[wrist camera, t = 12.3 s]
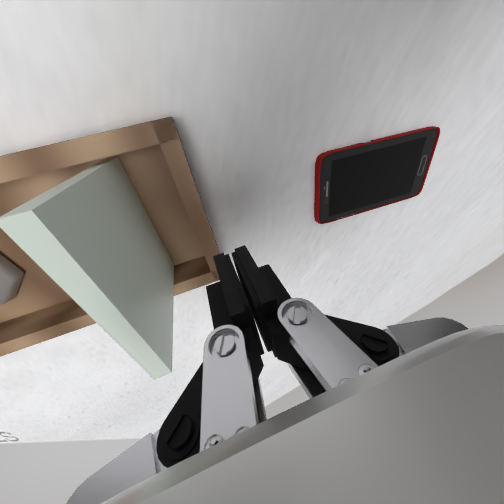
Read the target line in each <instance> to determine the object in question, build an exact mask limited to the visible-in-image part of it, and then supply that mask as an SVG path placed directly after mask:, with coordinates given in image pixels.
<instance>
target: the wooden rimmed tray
mask: <svg viewBox="0 0 504 504" xmlns="http://www.w3.org/2000/svg"><path fill="white" fill-rule="evenodd" d="M113 157H118V159H119V160H120V162H121V164H122V166H123V168H124V170H125V172H126V174H127V176H128V178H129V180H130V181H131V183H132V185H133V187H134V189H135V191H136V193H137V195H138V197H139V199H140V201H141V202H142V204H143V206H144V208H145V210H146V212H147V214H148V216H149V218H150V220H151V221H152V223H153V225H154V227H155V229H156V231H157V233H158V235H159V237H160V239H161V241H162V242H163V244H164V246H165V248H166V250H167V252H168V254H169V256H170V258H171V260H172V262H173V263H174V295H173V296H175V295H178V294H181V293H184V292H187V291H189V290H192V289H195V288H198V287H201V286H204V285H207V284H209V283H212V282H215V281H218V280H220V279H219V276H218V272H217V269H216V265H215V262H214V259H213V256H215V255H218V254H220V253H219V250H218V247H217V245H216V242H215V239H214V236H213V233H212V230H211V227H210V224H209V222H208V219H207V216H206V213H205V210H204V207H203V204H202V201H201V198H200V196H199V193H198V190H197V187H196V184H195V181H194V178H193V175H192V173H191V170H190V167H189V164H188V161H187V158H186V155H185V152H184V149H183V147H182V144H181V141H180V138H179V135H178V132H177V129H176V126H175V124H174V121H173V118H172V117H167V118H163V119H159V120H154V121H150V122H146V123H141V124H137V125H133V126H129V127H124V128H120V129H116V130H111V131H107V132H103V133H98V134H94V135H90V136H85V137H81V138H77V139H72V140H68V141H64V142H59V143H55V144H51V145H46V146H42V147H38V148H34V149H29V150H25V151H21V152H16V153H12V154H8V155H3V156H0V216H2V215H4V214H6V213H8V212H10V211H11V210H13V209H15V208H17V207H19V206H20V205H22V204H24V203H26V202H28V201H30V200H31V199H33V198H35V197H37V196H39V195H40V194H42V193H44V192H46V191H48V190H49V189H51V188H53V187H55V186H57V185H59V184H60V183H62V182H64V181H66V180H68V179H69V178H71V177H73V176H75V175H77V174H79V173H80V172H82V171H84V170H86V169H88V168H89V167H91V166H93V165H95V164H97V163H98V162H100V161H102V160H105V159H109V158H113ZM0 254H1V255H2V256H3V257H5V258H6V259H7V260H9V261H10V262H11V263H12V264H14V265H15V266H16V267H17V268H19V269H20V270H21V271H23V272H24V275H23V277H22V280H21V283H20V286H19V289H18V292H17V294H16V297H15V298H14V299H12V300H10V301H8V302H6V303H4V304H2V305H0V356H3V355H6V354H9V353H12V352H15V351H18V350H20V349H23V348H26V347H29V346H32V345H35V344H38V343H40V342H43V341H46V340H49V339H52V338H55V337H58V336H60V335H63V334H66V333H69V332H72V331H75V330H78V329H81V328H83V327H86V326H89V325H92V324H95V323H96V322H95V321H94V320H93V319H92V318H91V317H90V316H89V315H88V314H87V313H86V312H85V311H84V310H83V309H82V308H81V307H80V306H79V305H78V304H77V303H76V302H75V301H74V300H73V299H72V298H71V297H70V296H69V295H68V294H67V293H66V292H65V291H64V290H63V289H62V288H61V287H60V286H59V285H58V284H57V283H56V282H55V281H54V280H53V279H52V278H51V277H50V276H49V275H48V274H47V273H46V272H45V271H44V270H43V269H42V268H41V267H40V266H39V265H38V264H37V263H36V262H35V261H34V260H33V259H32V258H31V257H30V256H29V255H28V254H27V253H26V252H25V251H23V250H22V249H21V248H20V247H19V246H18V245H17V244H16V243H15V242H14V241H13V240H12V239H11V238H10V237H9V236H8V235H7V234H6V233H5V232H4V231H3V230H2V229H1V228H0Z"/></svg>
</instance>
